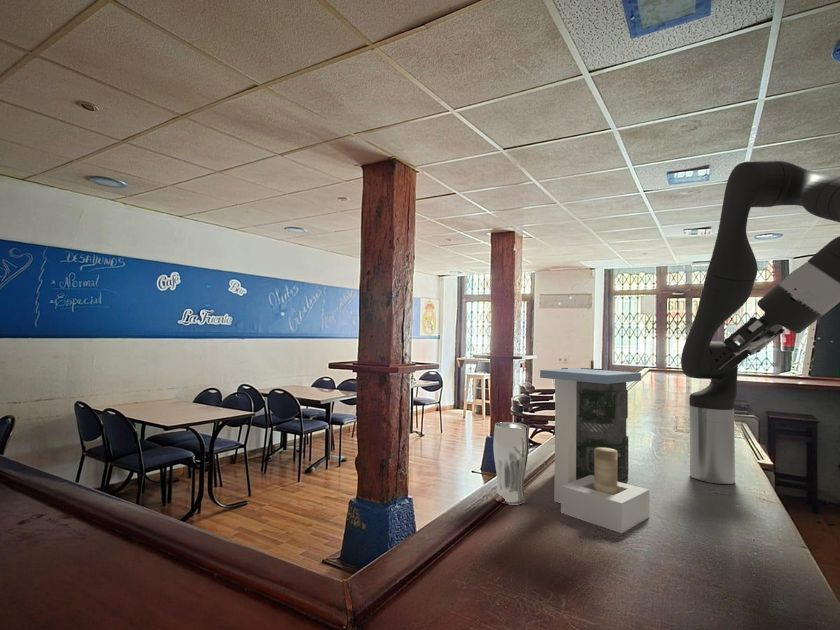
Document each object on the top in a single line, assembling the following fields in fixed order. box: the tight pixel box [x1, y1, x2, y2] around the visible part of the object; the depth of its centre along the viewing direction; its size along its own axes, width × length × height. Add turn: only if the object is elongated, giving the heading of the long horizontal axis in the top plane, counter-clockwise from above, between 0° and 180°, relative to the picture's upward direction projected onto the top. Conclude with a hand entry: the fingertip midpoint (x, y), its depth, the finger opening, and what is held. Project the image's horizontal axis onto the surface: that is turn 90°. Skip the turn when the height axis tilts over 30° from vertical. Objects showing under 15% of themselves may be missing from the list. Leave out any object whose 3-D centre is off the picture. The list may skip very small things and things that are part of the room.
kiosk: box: [539, 368, 651, 534], centre depth 87 cm, size 14×16×26 cm
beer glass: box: [492, 421, 529, 504], centre depth 92 cm, size 7×7×15 cm
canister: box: [561, 359, 629, 484], centre depth 107 cm, size 16×16×28 cm
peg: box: [594, 447, 617, 495], centre depth 85 cm, size 4×4×12 cm
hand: (719, 365), depth 80 cm, fingers open, 8 cm apart
